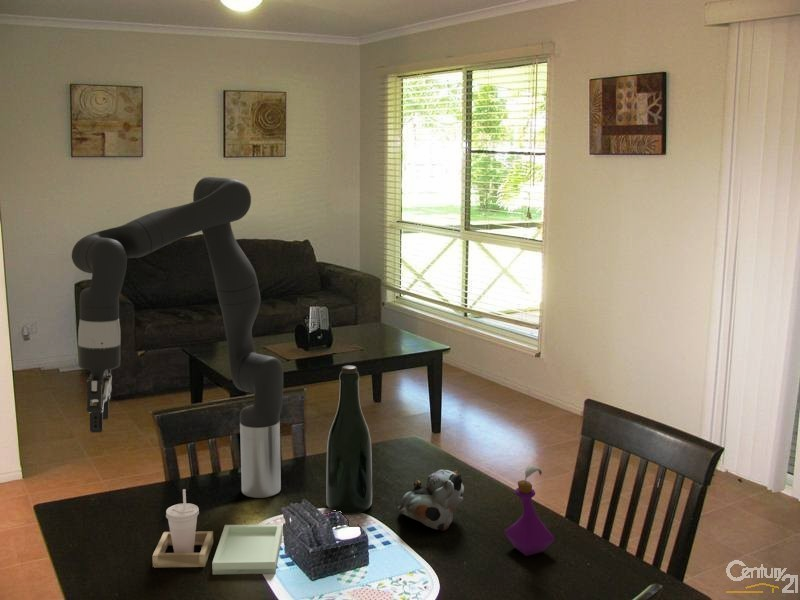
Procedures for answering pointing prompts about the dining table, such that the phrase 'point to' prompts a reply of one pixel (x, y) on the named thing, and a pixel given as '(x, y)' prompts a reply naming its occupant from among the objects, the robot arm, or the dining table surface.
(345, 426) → the green wine bottle
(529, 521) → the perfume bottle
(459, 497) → the lucky cat figurine
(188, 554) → the collar
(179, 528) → the smoothie
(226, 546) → the tray
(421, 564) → the dining table surface
